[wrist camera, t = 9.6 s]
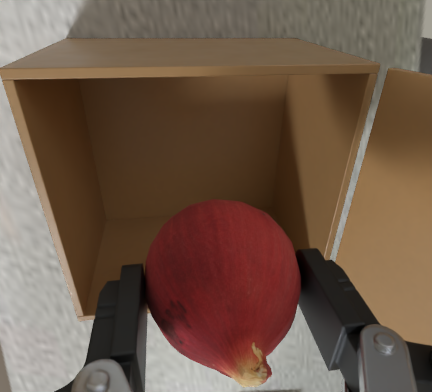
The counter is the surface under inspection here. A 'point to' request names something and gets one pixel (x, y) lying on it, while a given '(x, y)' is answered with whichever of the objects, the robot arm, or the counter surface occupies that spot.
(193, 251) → the onion
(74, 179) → the carton
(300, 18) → the counter surface
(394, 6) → the counter surface
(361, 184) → the flap
